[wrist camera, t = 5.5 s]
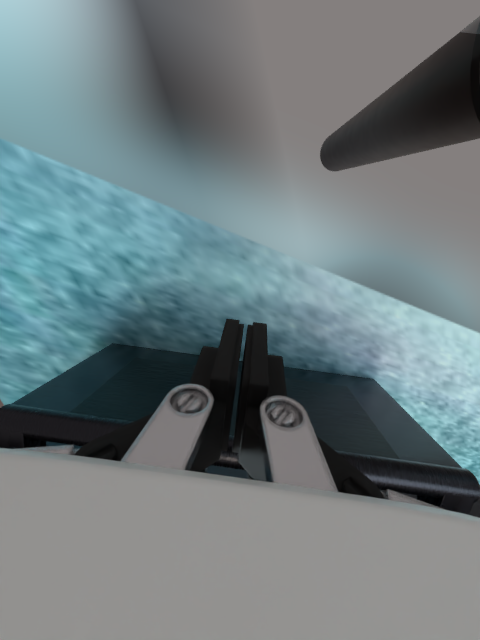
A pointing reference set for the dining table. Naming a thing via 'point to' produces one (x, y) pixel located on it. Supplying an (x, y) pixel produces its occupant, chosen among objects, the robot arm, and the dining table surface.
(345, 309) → the dining table surface
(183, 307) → the dining table surface
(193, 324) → the dining table surface
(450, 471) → the oven door
